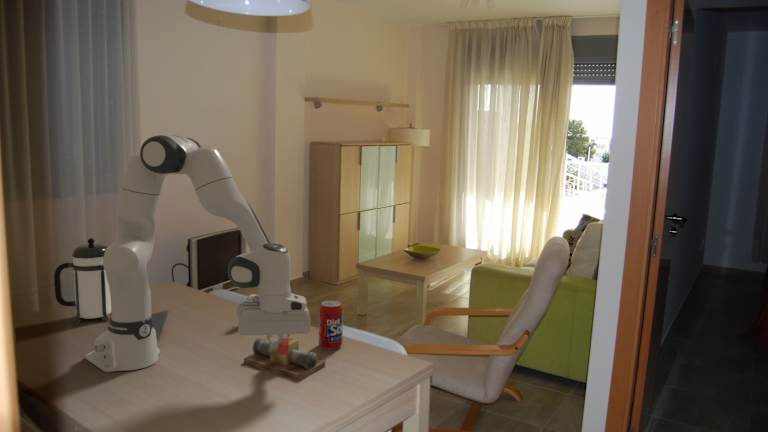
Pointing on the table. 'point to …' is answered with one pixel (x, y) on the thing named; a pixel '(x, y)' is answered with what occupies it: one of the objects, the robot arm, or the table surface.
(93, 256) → the coffee press
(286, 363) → the valve mount
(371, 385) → the table surface
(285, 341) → the valve lever
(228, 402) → the table surface
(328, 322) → the soda can
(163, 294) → the table surface
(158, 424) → the table surface
